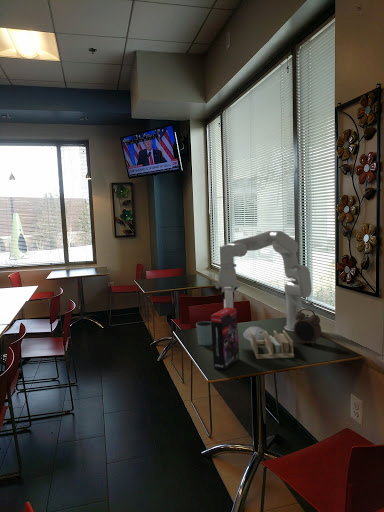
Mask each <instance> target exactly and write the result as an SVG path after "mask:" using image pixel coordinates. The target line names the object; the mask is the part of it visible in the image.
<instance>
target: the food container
mask: <svg viewBox="0 0 384 512" xmlns="http://www.w3.org/2000/svg"><path fill="white" fill-rule="evenodd" d="M251 331H252V332H253V335H254V337H255V339H256V341H260V340H265V331H266V330H265V329H263V328H261V327H260V326H254V325H252V326H249V327H247V328H246V329H245V330H244V332H243V333H242V336H243V338H244V339H245V340H247V341H249V342H251Z"/></svg>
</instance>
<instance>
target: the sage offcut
mask: <svg viewBox="0 0 384 512" xmlns="http://www.w3.org/2000/svg"><path fill="white" fill-rule="evenodd" d="M268 335H269V334H268ZM269 337H270V338H271V340H272V342H273V354H279V353H280V344H279V343H278V342H277V341H276V340H275V339H274V336H272V335H269Z"/></svg>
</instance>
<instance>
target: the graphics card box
mask: <svg viewBox="0 0 384 512" xmlns="http://www.w3.org/2000/svg"><path fill="white" fill-rule="evenodd" d="M210 322H211V329H212V344H211V345H212V357H213V358H212V359H213V368H214V369H217V370H222V371H225V370H227V369H228V368H229V367H231V366H232V365H233V364H234V363H235V362H237V361H238V360H239V359H240V349H239V348H240V347H239V329H238V313H237V308H234V307H233V308H228V307H226V308H224V307H223V308H222V309H220V310H219V311H217V312H215V313H213V314H211V315H210Z"/></svg>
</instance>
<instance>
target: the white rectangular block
mask: <svg viewBox="0 0 384 512" xmlns="http://www.w3.org/2000/svg"><path fill="white" fill-rule="evenodd" d="M224 292H225V299H223V309H224V308H226V307H228V308H234V297H233V291H232V288H231V287H224Z"/></svg>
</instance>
